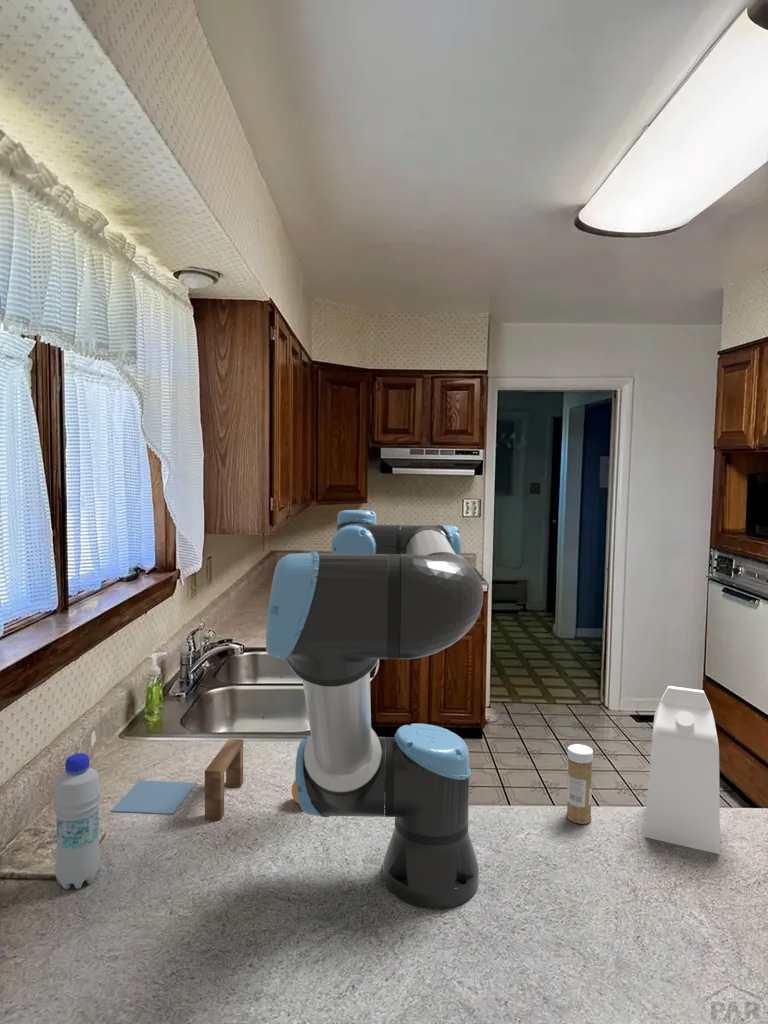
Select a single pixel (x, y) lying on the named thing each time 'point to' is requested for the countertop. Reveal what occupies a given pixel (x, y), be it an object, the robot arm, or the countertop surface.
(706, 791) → the milk
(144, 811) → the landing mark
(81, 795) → the bottle
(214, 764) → the bridge
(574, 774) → the sprinkles bottle
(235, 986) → the countertop surface
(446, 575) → the robot arm
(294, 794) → the ball
